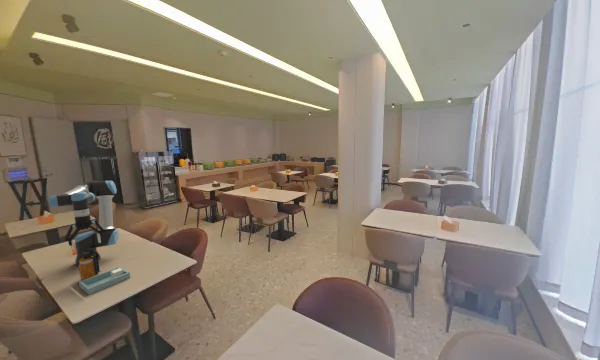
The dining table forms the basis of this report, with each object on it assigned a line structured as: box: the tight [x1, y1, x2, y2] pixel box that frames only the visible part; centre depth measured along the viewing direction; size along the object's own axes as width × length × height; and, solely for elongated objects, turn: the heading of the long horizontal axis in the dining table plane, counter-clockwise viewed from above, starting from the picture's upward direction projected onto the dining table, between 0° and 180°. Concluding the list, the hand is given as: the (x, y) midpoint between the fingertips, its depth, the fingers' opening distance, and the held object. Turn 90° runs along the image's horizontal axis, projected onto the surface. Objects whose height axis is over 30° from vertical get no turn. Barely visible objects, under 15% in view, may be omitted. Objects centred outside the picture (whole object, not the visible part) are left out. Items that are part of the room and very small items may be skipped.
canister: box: [78, 251, 101, 281], centre depth 158 cm, size 9×11×20 cm
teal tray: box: [78, 266, 131, 296], centre depth 154 cm, size 16×22×4 cm
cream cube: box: [111, 268, 123, 279], centre depth 159 cm, size 5×5×5 cm
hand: (87, 246), depth 156 cm, fingers open, 13 cm apart
